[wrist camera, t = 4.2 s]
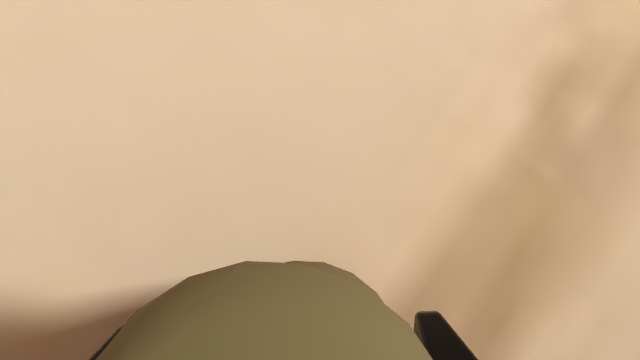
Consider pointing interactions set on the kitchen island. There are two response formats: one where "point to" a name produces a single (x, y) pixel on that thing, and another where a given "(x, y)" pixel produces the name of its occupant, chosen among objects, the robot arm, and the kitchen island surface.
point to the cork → (267, 318)
